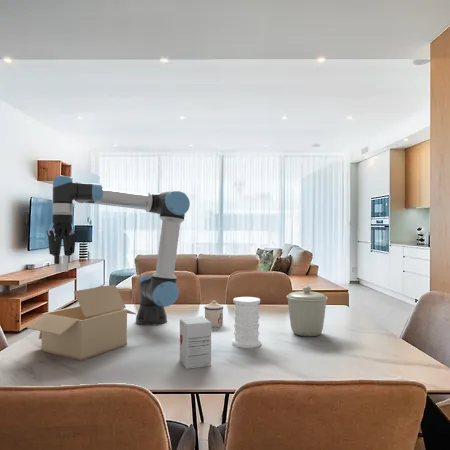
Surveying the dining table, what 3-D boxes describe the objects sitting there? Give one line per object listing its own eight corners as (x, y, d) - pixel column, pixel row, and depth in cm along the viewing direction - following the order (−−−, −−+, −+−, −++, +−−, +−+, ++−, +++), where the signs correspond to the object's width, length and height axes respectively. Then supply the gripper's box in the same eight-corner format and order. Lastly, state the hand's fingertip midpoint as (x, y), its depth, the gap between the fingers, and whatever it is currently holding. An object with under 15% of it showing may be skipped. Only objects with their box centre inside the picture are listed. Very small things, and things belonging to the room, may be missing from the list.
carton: (16, 354, 139) (16, 315, 140) (95, 331, 171) (95, 299, 172) (63, 367, 127) (63, 324, 127) (139, 340, 159) (139, 305, 159)
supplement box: (178, 360, 134) (179, 318, 135) (203, 357, 138) (203, 316, 138) (186, 369, 126) (186, 324, 126) (211, 366, 129) (211, 321, 130)
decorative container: (256, 349, 147) (256, 302, 148) (228, 346, 151) (228, 300, 152) (264, 341, 158) (264, 297, 158) (237, 338, 162) (237, 295, 162)
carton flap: (85, 317, 134) (73, 291, 137) (125, 307, 151) (114, 284, 154) (85, 317, 134) (74, 291, 137) (125, 307, 151) (115, 284, 154)
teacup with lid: (221, 327, 179) (221, 302, 179) (202, 327, 180) (202, 302, 181) (225, 321, 191) (225, 298, 191) (207, 321, 192) (207, 297, 192)
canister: (296, 326, 183) (296, 282, 183) (333, 332, 172) (333, 285, 172) (279, 334, 168) (279, 286, 168) (318, 342, 158) (318, 290, 158)
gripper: (72, 214, 165) (71, 269, 165) (39, 213, 151) (38, 273, 151) (84, 214, 161) (83, 270, 161) (51, 213, 148) (51, 274, 148)
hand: (62, 271), depth 156 cm, fingers open, 3 cm apart
